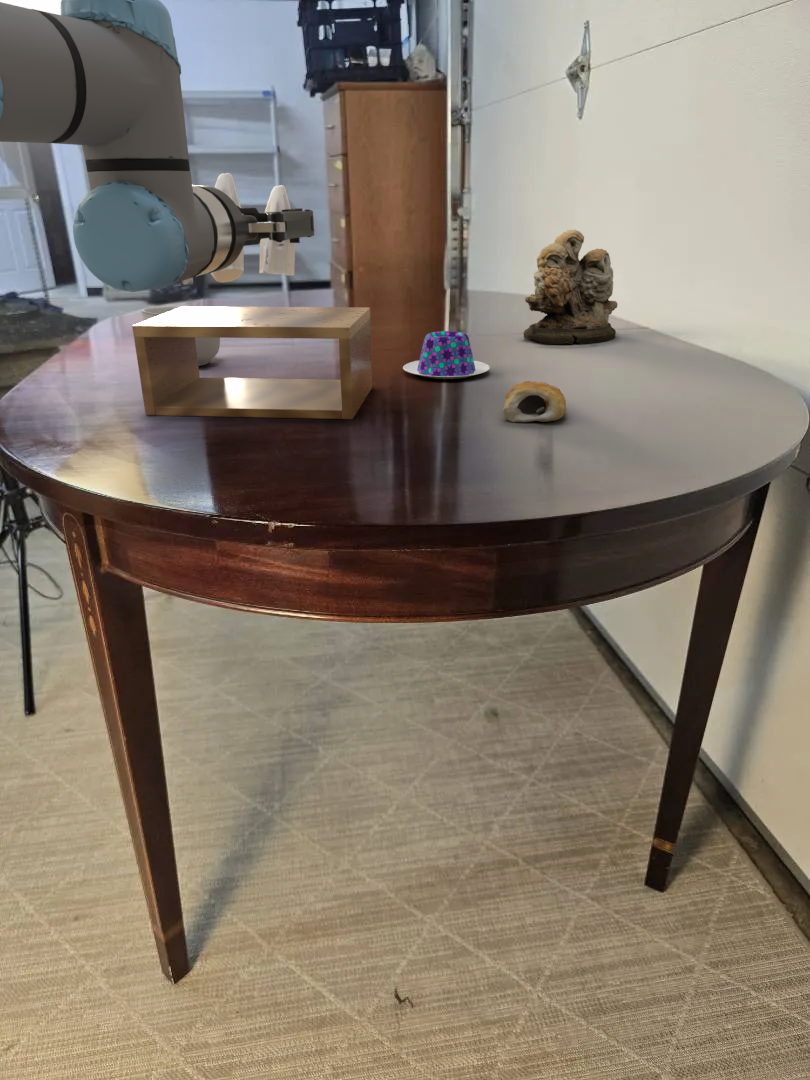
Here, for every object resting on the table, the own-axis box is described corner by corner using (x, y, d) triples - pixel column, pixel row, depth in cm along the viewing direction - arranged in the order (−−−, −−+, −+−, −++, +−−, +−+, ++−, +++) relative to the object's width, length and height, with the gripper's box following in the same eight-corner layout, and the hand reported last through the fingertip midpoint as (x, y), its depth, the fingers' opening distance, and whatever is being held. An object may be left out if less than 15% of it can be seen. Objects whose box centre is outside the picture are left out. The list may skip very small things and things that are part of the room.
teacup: (153, 358, 118) (146, 304, 115) (226, 355, 120) (220, 301, 116) (142, 378, 106) (133, 318, 102) (223, 374, 107) (217, 315, 104)
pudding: (452, 360, 115) (452, 324, 112) (507, 374, 106) (509, 335, 104) (385, 371, 108) (385, 333, 106) (439, 386, 99) (439, 345, 97)
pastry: (509, 401, 92) (511, 369, 91) (566, 404, 91) (569, 371, 89) (501, 422, 84) (503, 387, 82) (564, 426, 83) (567, 391, 81)
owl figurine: (548, 349, 122) (556, 233, 115) (503, 338, 131) (508, 230, 124) (632, 338, 130) (644, 229, 123) (584, 328, 139) (592, 226, 132)
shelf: (145, 415, 88) (131, 325, 84) (192, 384, 102) (182, 306, 98) (352, 419, 86) (349, 327, 82) (372, 387, 99) (370, 307, 95)
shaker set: (214, 286, 83) (200, 172, 78) (195, 283, 86) (181, 173, 81) (306, 277, 90) (299, 171, 85) (287, 274, 93) (278, 173, 88)
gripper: (89, 275, 72) (179, 256, 92) (311, 274, 70) (352, 255, 90) (73, 186, 69) (170, 187, 89) (305, 183, 67) (350, 184, 87)
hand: (262, 221), depth 90 cm, fingers closed on shaker set, 8 cm apart
